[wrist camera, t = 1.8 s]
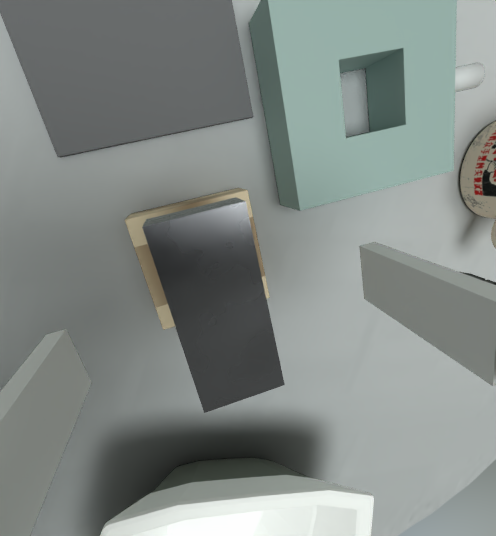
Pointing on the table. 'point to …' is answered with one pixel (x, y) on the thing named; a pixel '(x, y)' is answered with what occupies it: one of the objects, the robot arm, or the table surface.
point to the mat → (128, 67)
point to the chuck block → (378, 92)
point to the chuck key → (216, 299)
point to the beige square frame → (144, 254)
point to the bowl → (245, 504)
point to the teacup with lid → (481, 176)
